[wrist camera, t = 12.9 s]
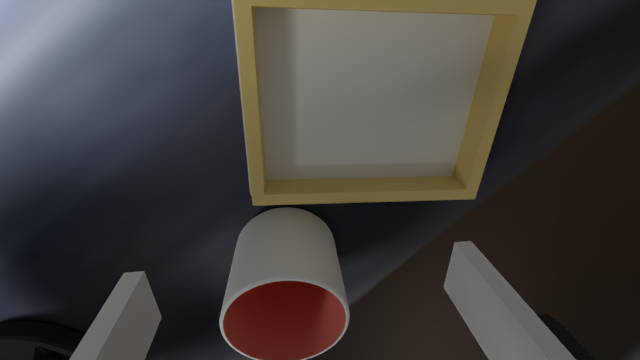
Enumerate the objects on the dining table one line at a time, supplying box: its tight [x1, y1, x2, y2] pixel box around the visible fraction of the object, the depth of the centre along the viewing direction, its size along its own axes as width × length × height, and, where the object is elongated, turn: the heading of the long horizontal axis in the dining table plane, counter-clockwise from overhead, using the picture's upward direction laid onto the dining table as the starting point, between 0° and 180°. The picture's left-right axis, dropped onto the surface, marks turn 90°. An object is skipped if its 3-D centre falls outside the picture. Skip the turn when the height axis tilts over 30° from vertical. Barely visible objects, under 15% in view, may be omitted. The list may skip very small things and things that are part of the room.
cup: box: [219, 207, 349, 360], centre depth 28 cm, size 10×10×10 cm
